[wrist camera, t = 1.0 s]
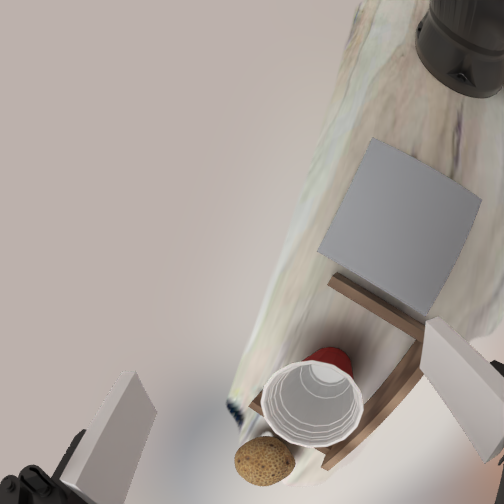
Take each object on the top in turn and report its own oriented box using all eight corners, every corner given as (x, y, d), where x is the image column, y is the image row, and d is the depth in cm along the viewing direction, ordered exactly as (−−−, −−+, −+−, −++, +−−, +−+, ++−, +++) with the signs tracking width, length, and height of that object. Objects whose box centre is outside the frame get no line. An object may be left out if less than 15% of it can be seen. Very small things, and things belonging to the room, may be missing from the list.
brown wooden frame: (337, 272, 35) (327, 279, 28) (431, 330, 29) (442, 349, 23) (259, 394, 40) (238, 416, 34) (337, 442, 35) (327, 470, 28)
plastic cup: (383, 344, 32) (383, 388, 21) (349, 407, 34) (333, 460, 23) (309, 315, 36) (279, 345, 26) (283, 378, 38) (247, 422, 27)
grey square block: (373, 153, 32) (372, 137, 26) (466, 206, 27) (482, 199, 22) (326, 249, 35) (316, 251, 30) (417, 304, 30) (425, 316, 25)
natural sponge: (311, 438, 36) (291, 478, 27) (291, 467, 38) (269, 504, 29) (261, 415, 40) (232, 449, 31) (246, 446, 42) (218, 478, 33)
